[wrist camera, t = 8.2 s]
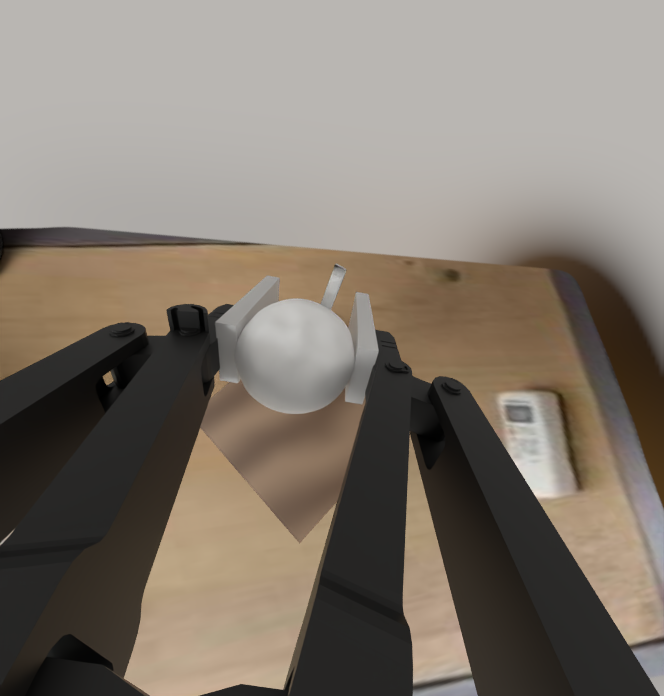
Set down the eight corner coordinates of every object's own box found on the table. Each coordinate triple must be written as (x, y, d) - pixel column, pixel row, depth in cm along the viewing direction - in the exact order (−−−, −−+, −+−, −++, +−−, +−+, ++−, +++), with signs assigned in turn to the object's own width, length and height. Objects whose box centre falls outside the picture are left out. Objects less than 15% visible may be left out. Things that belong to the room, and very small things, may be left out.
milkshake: (351, 357, 18) (399, 299, 8) (313, 424, 17) (318, 445, 7) (298, 326, 18) (285, 233, 9) (256, 389, 17) (186, 364, 7)
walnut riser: (210, 414, 30) (190, 416, 25) (297, 337, 33) (294, 325, 28) (302, 519, 28) (299, 543, 23) (385, 427, 31) (398, 431, 26)
